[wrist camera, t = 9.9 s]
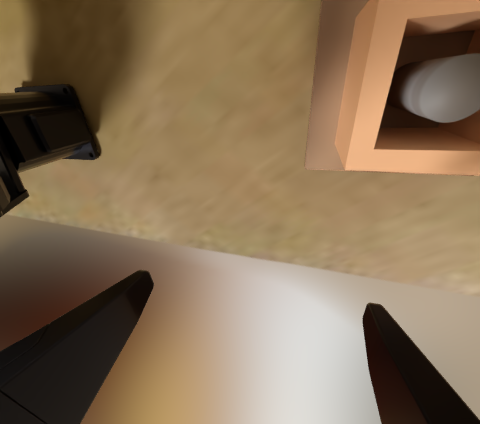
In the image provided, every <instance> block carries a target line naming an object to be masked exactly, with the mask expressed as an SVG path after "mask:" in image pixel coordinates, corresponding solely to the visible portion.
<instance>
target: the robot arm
mask: <svg viewBox="0 0 480 424" xmlns="http://www.w3.org/2000/svg"><path fill="white" fill-rule="evenodd" d="M67 90H68V91H67ZM98 157H99V154H98V152H97V149H96V146H95V144H94V141H93V138H92V136H91V133H90V131H89V128H88V125H87V123H86V120H85V117H84V115H83V112H82V110H81V107H80V104H79V102H78V99H77V97H76V94H75V91H74V89H73V88H72V86H70V85H68V84H61V85H47V86H33V87H19V88H15V93H0V217H1V216H3V215H4V214H5V213H7V212H8V211H10V210H11V209H12V208H14V207H15V206H16V205H18V204H19V203H20V202H22V201H23V200H25V199H26V198H27V197H29V194H28V192H27V190H26V189H25V188H24V186H23V183H22V181H21V179H20V177H19V174H18V173H20V172H23V171H26V170H29V169H32V168H35V167H38V166H41V165H44V164H47V163H50V162H53V161H57V160H60V159H82V160H95V159H97V158H98ZM153 286H154V283H153V280H152V278H151V275H150V273H149V272H148V271H145V270H139V271H137V272H135V273H133V274H132V275H130V276H128V277H126V278H125V279H123V280H121V281H120V282H118V283H116V284H115V285H113V286H111V287H110V288H108V289H106V290H105V291H103V292H101V293H100V294H98V295H96V296H95V297H93V298H91V299H89V300H88V301H86V302H84V303H83V304H81V305H79V306H78V307H76V308H74V309H73V310H71V311H69V312H68V313H66V314H64V315H63V316H61V317H59V318H58V319H56V320H54V321H52V322H51V323H50V324H47V325H46V326H44V327H42V328H41V329H39V330H37V331H36V332H34V333H32V334H31V335H29V336H27V337H26V338H24V339H22V340H20V341H18V342H16V343H14V344H13V345H11V346H9V347H7V348H6V349H4V350H2V351H0V424H80V423H81V421H82V420H83V418H84V416H85V414H86V412H87V411H88V409H89V407H90V406H91V404H92V402H93V400H94V398H95V397H96V395H97V393H98V391H99V390H100V388H101V386H102V384H103V382H104V380H105V379H106V377H107V375H108V374H109V372H110V370H111V368H112V366H113V365H114V363H115V361H116V359H117V357H118V356H119V354H120V352H121V351H122V349H123V347H124V345H125V344H126V342H127V340H128V338H129V336H130V335H131V333H132V331H133V329H134V328H135V326H136V324H137V322H138V320H139V318H140V316H141V314H142V311H143V309H144V307H145V305H146V303H147V300H148V298H149V296H150V294H151V292H152V289H153ZM363 329H364V337H365V345H366V352H367V359H368V367H369V372H370V377H371V381H372V386H373V389H374V394H375V398H376V402H377V406H378V411H379V415H380V419H381V423H382V424H480V420H479V419H478V417H477V416H476V415H475V414H474V413H473V412H472V410H471V409H470V408H469V407H468V406H467V405H466V403H465V402H464V401H463V400H462V399H461V397H460V396H459V395H458V394H457V393H456V392H455V390H454V389H453V388H452V387H451V386H450V385H449V383H448V382H447V381H446V380H445V379H444V377H443V376H442V375H441V374H440V373H439V372H438V370H436V368H435V367H434V366H433V365H432V364H431V362H430V361H429V360H428V359H427V358H426V356H425V355H424V354H423V353H422V352H421V351H420V349H419V348H418V347H417V346H416V345H415V344H414V342H413V341H412V340H411V339H410V338H409V336H407V334H406V333H405V332H404V331H403V329H402V328H401V327H400V326H399V325H398V323H397V322H396V321H395V320H394V319H393V318H392V317H391V315H390V314H389V313H388V312H387V311H386V310H385V308H384V307H383V306H382V305H380V304H374V303H368V304H367V306H366V309H365V312H364V315H363Z"/></svg>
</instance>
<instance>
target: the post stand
mask: <svg viewBox="0 0 480 424" xmlns="http://www.w3.org/2000/svg"><path fill="white" fill-rule="evenodd" d="M368 1H369V0H322V1H321V11H320V21H319V30H318V40H317V50H316V60H315V69H314V79H313V89H312V98H311V108H310V118H309V128H308V137H307V147H306V157H305V169H313V170H338V171H355V170H345V169H344V167H343V164H342V162H341V159H340V156H339V154H338V151H337V149H336V146H335V139H336V133H337V127H338V121H339V115H340V109H341V103H342V97H343V91H344V85H345V79H346V73H347V67H348V61H349V55H350V49H351V43H352V37H353V31H354V25H355V19H356V16H357V15H358V14H359V13H360V11H361V10H362V9H363V7H364V6H365V5H366V4H367V2H368ZM474 32H475V30H473V31H462V32H452V33H441V34H430V35H420V36H409V37H403V38H402V42H401V46H400V50H399V54H398V58H397V62H396V65H395V69H394V73H393V77H392V81H391V85H390V89H389V92H388V96H387V100H386V104H385V108H384V112H383V116H382V119H381V123H380V127H379V128H438V125H439V123H440V122H442V123H448V122H455V121H458V120H461V119H464V118H466V117H468V116H470V115H472V114H474V113H475V112H476V111H478V110H479V109H480V54H479V53H473V54H466V53H467V50H468V48H469V45H470V42H471V40H472V37H473V35H474ZM363 172H380V171H363ZM387 173H405V172H387ZM412 174H431V173H412ZM437 175H456V174H437ZM462 176H474V175H462Z"/></svg>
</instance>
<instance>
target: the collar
mask: <svg viewBox="0 0 480 424" xmlns="http://www.w3.org/2000/svg"><path fill="white" fill-rule="evenodd" d="M473 30H475V32H474V35H473V37H472V40H471V42H470V45H469V48H468V50H467V53H466V54H473V53H479V54H480V0H369V1H368V2H367V4H366V5H365V6H364V7H363V9H362V10H361V11H360V13H359V14H358V15H357V16H356V19H355V25H354V31H353V37H352V43H351V49H350V55H349V61H348V67H347V73H346V79H345V85H344V91H343V97H342V103H341V109H340V115H339V121H338V127H337V133H336V139H335V146H336V149H337V151H338V154H339V156H340V159H341V162H342V164H343V167H344V169H345V170H355V171H380V172H405V173H431V174H456V175H480V109H479V110H478V111H476V112H475V113H474V114H472V115H470V116H468V117H466V118H464V119H461V120H458V121H455V122H448V123H442V122H440V123H439V125H438V128H379V127H380V123H381V119H382V116H383V112H384V108H385V104H386V100H387V96H388V92H389V89H390V85H391V81H392V77H393V73H394V69H395V65H396V62H397V58H398V54H399V50H400V46H401V42H402V38H403V37H409V36H420V35H430V34H441V33H452V32H462V31H473Z"/></svg>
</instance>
